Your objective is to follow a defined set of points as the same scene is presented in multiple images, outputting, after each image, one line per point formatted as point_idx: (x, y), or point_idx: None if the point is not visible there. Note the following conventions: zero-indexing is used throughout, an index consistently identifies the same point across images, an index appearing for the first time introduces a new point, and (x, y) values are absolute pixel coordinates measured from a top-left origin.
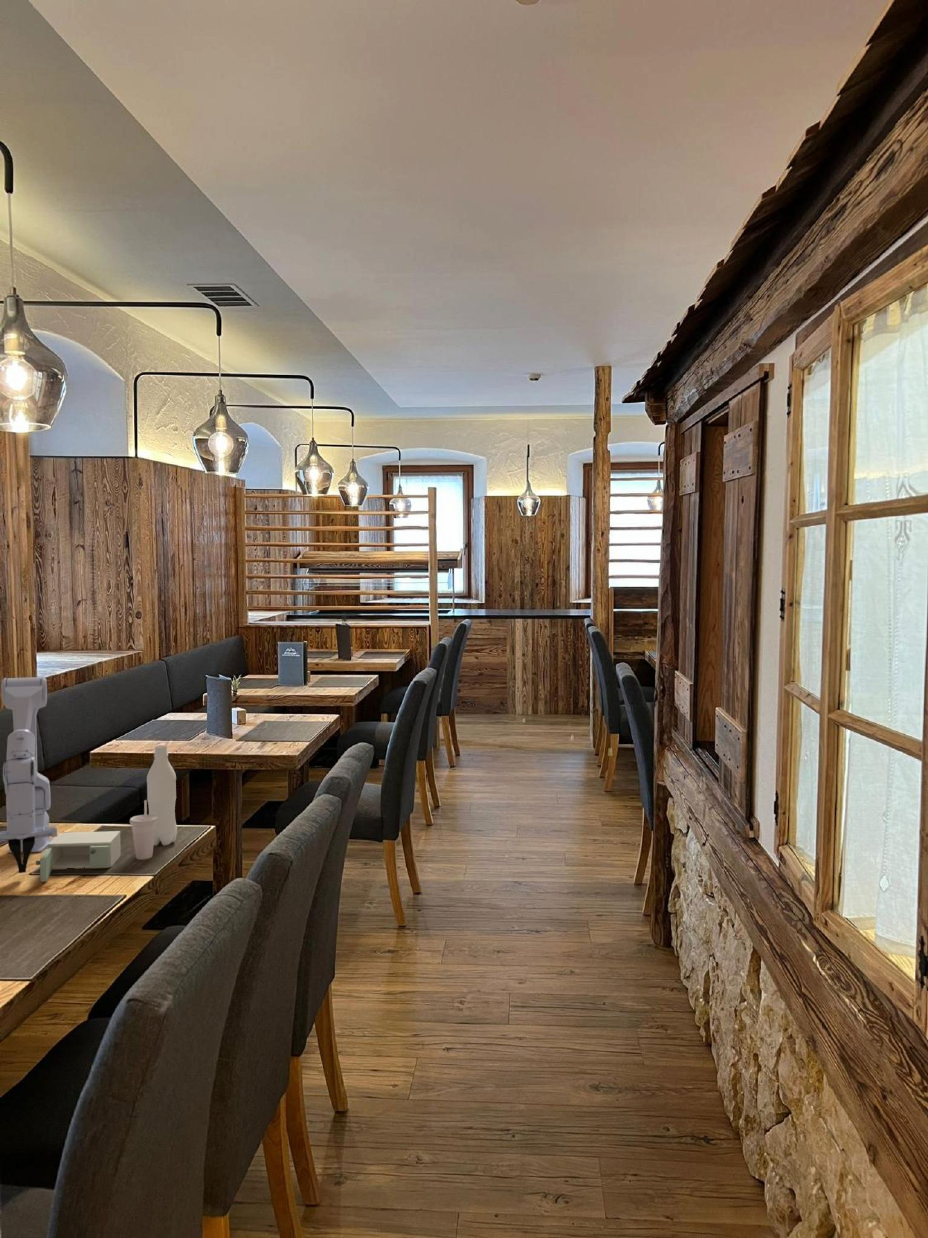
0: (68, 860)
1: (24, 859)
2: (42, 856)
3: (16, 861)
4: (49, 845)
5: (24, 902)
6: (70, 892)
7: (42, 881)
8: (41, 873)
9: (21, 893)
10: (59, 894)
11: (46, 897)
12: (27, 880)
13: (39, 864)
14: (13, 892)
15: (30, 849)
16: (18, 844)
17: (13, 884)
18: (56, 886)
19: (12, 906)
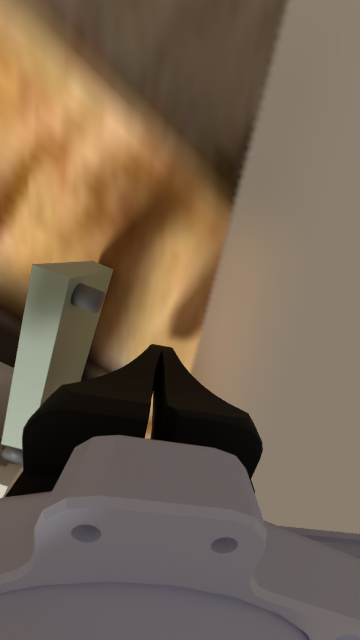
0: (4, 424)
1: (148, 364)
2: (50, 335)
3: (186, 369)
4: (6, 476)
5: (217, 43)
6: (8, 42)
7: (106, 266)
8: (97, 269)
9: (196, 197)
10: (60, 50)
11: (119, 47)
12: (148, 333)
13: (87, 287)
14: (217, 231)
15: (98, 380)
16: (183, 436)
17: (194, 320)
18: (64, 193)
19: (275, 17)
